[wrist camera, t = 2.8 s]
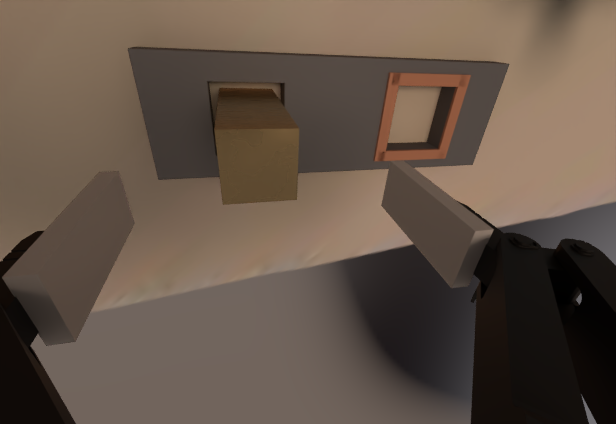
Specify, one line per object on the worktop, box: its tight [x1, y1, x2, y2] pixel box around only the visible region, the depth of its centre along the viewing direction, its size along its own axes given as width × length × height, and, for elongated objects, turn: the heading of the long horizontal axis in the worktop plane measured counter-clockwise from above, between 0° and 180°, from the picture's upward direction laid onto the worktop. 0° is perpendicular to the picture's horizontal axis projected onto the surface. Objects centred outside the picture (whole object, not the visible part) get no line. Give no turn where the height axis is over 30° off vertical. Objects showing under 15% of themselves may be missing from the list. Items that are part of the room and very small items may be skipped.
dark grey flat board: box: [128, 47, 509, 180], centre depth 27 cm, size 32×10×2 cm, turn 87°
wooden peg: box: [214, 88, 299, 205], centre depth 22 cm, size 4×4×12 cm
